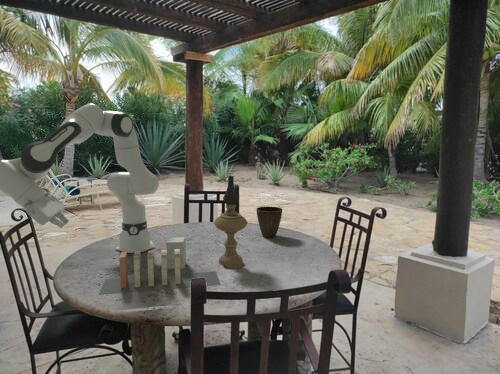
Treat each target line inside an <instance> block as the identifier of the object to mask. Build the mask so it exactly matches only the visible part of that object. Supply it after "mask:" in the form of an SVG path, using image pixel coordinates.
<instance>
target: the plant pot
mask: <svg viewBox="0 0 500 374" xmlns="http://www.w3.org/2000/svg"><path fill="white" fill-rule="evenodd" d="M255 209H256V217H257V221H258V226H259V229H260V230H259V231H260V232H261V236H262V237H263V238H269V239H271V238H275V237H276V236H277V233H278V231H279V228H280V224H281V221H282V215H283V214H282V213H283V208H282V207H277V206H260V207H256V208H255Z"/></svg>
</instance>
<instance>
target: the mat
mask: <svg viewBox="0 0 500 374" xmlns="http://www.w3.org/2000/svg"><path fill="white" fill-rule="evenodd" d="M198 277H205V278H206V282H207V286H206V287H209V286H221V282H220V279H219V277H218V274H217V271H216V270H215V271H214V270H213V271H203V272H202V271H200V272H199V271H198V272H188V273H186V272H185V273H180V279H181V284H175V273H174V274H167V285H162V274H160V275H154V279H155V280H154V286H148V275H147V276H146V275H145V276H141V286H140V287H135V281H134V276H133V277H128V284H127V288H121V282H120V278H105V280H104V282H103V284H102V287H101V289H100V291H99V293H98V295H111V294H112V295H113V294H123V293H135V292H136V293H137V292H145V291H147V292H148V291H160V290H161V291H162V290H172V289H173V290H174V289H186V288H191V287H190V281H191V279H192V278H198Z"/></svg>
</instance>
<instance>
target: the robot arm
mask: <svg viewBox="0 0 500 374" xmlns="http://www.w3.org/2000/svg"><path fill="white" fill-rule="evenodd" d="M92 135H97V136H104V137H112V138H113V146H114V152H115V158H116V162H117V163H118V166H120V167H122V168H124V169H125V170H126V171H119V172H114V173H111V174H109V176H108V178H107V181H106V186H107V189H108V190H109V192H110V193H112V194H113V195H114V196H115V197H116V198H117V200H118V202H119V204H120V207H121V215H122V222H121V229H122V231H120V233H119V235H118V238H119V239H118V240H119V242H118V245H117V246H116V247H115V251H120V252H127V254H130V253H131V254H134V253H135V252H136V251H140V253H141V252H142V253H143V252H145V251H150V250H151V249H152V250H153V249H155V244H154V242H153V241H152V238H151V232H150V230H148V223H147V222H148V221H147V218H146V217H147V215H146V214H147V213H146V205H144V203H143V202H141V201H140V200H138V198H136V195H137V196H139V195H140V196H146V195H147V196H148V195H153V194H155V193H156V192H157V191H158V188H159V186H160V185H159V184H160V183H159V182H160V181H159V179H158V177H157V176H156V175H155V174H154V173H153V172H151V171H150V170H149V169H148V168H147V166H146V165H145V163H144V161H143V159H142V155H141V151H140V145H139V140H138V136H137V133H136V129H135V126H134V123H133V120H132V118H131V116H130V115H129V114H127V113H125V112H123V111H115V110H102V108H101V107H100V106H98V105H97V104H94V103H86V104H85V105H83V106H80V107H78V108H77V109H76V110H74V111H73V112H72V113H70V114H69V115H68V116H66V118H65V119H64V120H63V121H62V123H61V124H60V125H59V126H58V128H57V129H55V130H54V131H53V132H52V133H50V134H49V135H48V136H46V137H45V138H42V139H41V140H38V141H35V142H32V143H29V144H27V145H25V147H23V149H22V150H21V154H20V157H18V158H13V159H1V160H0V191H1V192H3V194H4V195H7V196H9V197H11V198H12V200H14V202H15V203H16V204H17V205H19V206H20V207H21V208H23V210H25V212H26V214H27V215H28V216H29V217H30V218H31V219H33V220H34V221H35V222H36V223H37V224H39V225H40V226H44V225H46V224H47V223H48V222H49V223H51V224H52V225H55V226H57V227H58V228H60V229H62V228H63V227H64V226H65V225H67V224H68V223H69V221H70V220H69V218H67V217H66V216H65V214H64V213H63V212H62V211H64V210H65V208H66V207H65V205H64V204H63V203H62V201H60V199H58V198H57V197H56V196H55V195H54V194H52V193H51V190H49V189H48V188H45V187H41V186H40V185H38V183H39V182H41V181H42V180H43V179H45V178H46V177H47V175H48V173H49V171H50V170H51V168H52V166H54V163H55V161H56V159H57V156H58V153H59V152H61V151H62V150H63V149H65V148H66V146H68V145H70V144H75V145H79V144H81V143H84V142H85V141H87V140H88V139H89V138H90V137H92Z"/></svg>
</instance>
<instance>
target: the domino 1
mask: <svg viewBox="0 0 500 374" xmlns="http://www.w3.org/2000/svg"><path fill="white" fill-rule="evenodd" d="M118 260H119V277H120V282H121V288H127V284H128V278H129V274H128V272H129V271H128V270H129V269H128V253H127V252H122V251H120V255H119V259H118Z"/></svg>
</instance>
